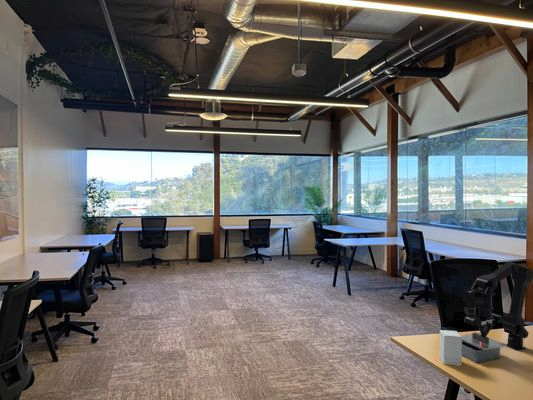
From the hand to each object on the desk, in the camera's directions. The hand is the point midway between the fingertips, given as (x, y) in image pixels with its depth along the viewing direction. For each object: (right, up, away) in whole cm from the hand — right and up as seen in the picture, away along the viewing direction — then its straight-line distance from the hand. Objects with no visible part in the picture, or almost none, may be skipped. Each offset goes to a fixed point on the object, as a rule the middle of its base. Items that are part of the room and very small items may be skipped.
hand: (483, 337), depth 171 cm
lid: (-2, -2, -1) cm, 3 cm away
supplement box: (-21, -7, -10) cm, 24 cm away
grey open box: (-5, -7, -2) cm, 9 cm away
